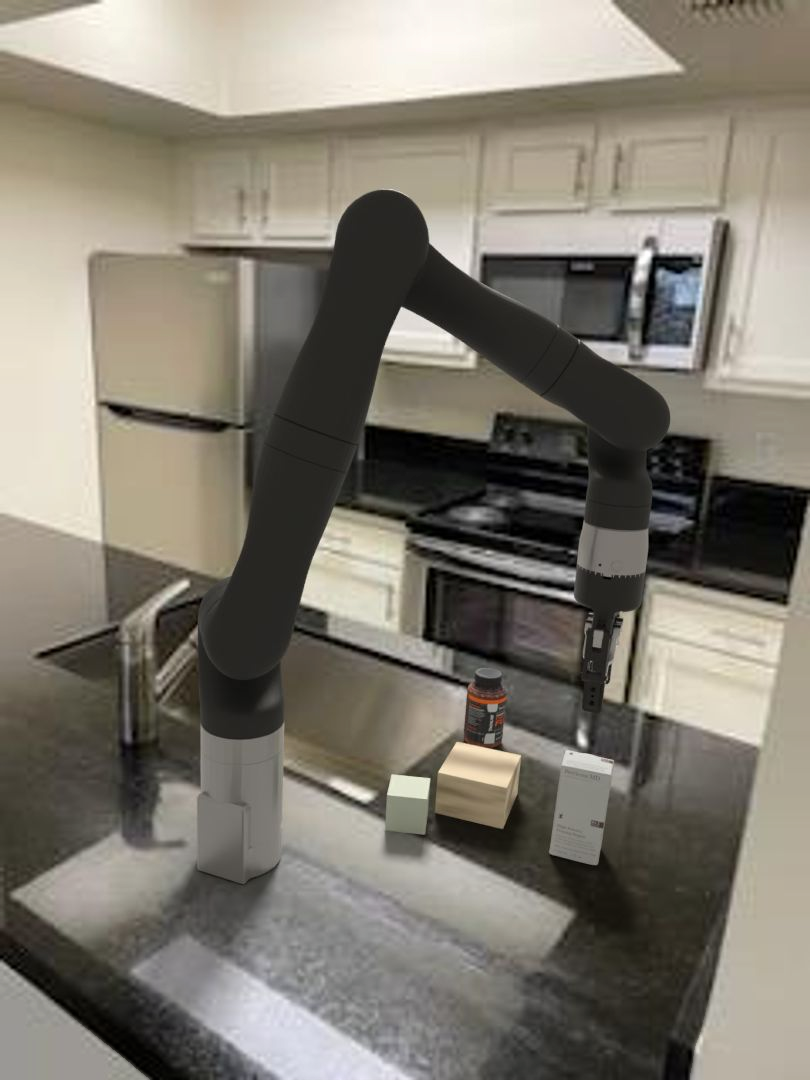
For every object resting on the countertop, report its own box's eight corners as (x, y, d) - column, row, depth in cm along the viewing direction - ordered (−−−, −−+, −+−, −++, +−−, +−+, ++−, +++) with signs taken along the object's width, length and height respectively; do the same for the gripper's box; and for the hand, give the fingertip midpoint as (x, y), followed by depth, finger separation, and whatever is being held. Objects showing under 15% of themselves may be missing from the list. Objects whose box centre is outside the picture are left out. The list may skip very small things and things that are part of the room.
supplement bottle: (500, 753, 125) (506, 683, 122) (460, 747, 126) (466, 677, 123) (503, 735, 131) (509, 667, 128) (465, 729, 132) (471, 662, 129)
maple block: (502, 830, 106) (506, 788, 105) (434, 813, 109) (437, 772, 107) (517, 795, 114) (521, 755, 113) (453, 780, 117) (456, 741, 116)
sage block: (424, 835, 104) (427, 799, 103) (385, 830, 104) (386, 795, 103) (427, 812, 109) (430, 778, 108) (389, 808, 109) (391, 774, 108)
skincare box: (548, 855, 101) (558, 765, 98) (553, 835, 105) (563, 748, 102) (600, 867, 100) (612, 776, 96) (603, 846, 104) (614, 758, 101)
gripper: (585, 544, 102) (572, 668, 106) (568, 574, 89) (553, 715, 93) (649, 552, 99) (633, 679, 103) (641, 584, 86) (623, 728, 90)
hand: (596, 696), depth 98 cm, fingers open, 8 cm apart
